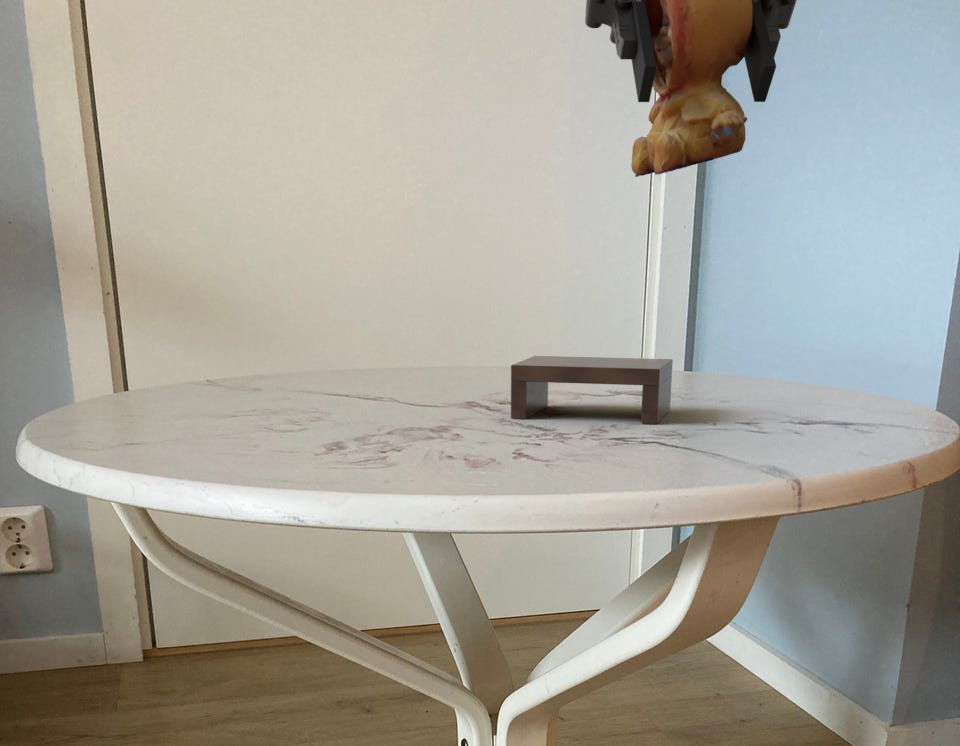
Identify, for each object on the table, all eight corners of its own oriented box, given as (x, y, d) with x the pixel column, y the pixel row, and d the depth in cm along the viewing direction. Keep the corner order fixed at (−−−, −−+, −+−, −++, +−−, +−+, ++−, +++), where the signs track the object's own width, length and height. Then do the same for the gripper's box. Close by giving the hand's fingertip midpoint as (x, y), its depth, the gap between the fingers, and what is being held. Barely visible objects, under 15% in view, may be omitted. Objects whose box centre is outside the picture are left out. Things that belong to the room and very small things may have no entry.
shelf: (670, 410, 110) (672, 359, 108) (656, 424, 102) (659, 369, 100) (533, 405, 114) (534, 355, 112) (510, 418, 106) (510, 365, 104)
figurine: (614, 179, 83) (622, -51, 78) (707, 180, 85) (720, -45, 79) (668, 172, 74) (681, -90, 69) (770, 173, 75) (791, -82, 70)
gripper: (781, -74, 88) (835, 131, 78) (528, -76, 86) (551, 132, 77) (810, -178, 81) (873, 33, 71) (536, -181, 80) (562, 32, 70)
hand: (706, 84), depth 74 cm, fingers closed on figurine, 7 cm apart
